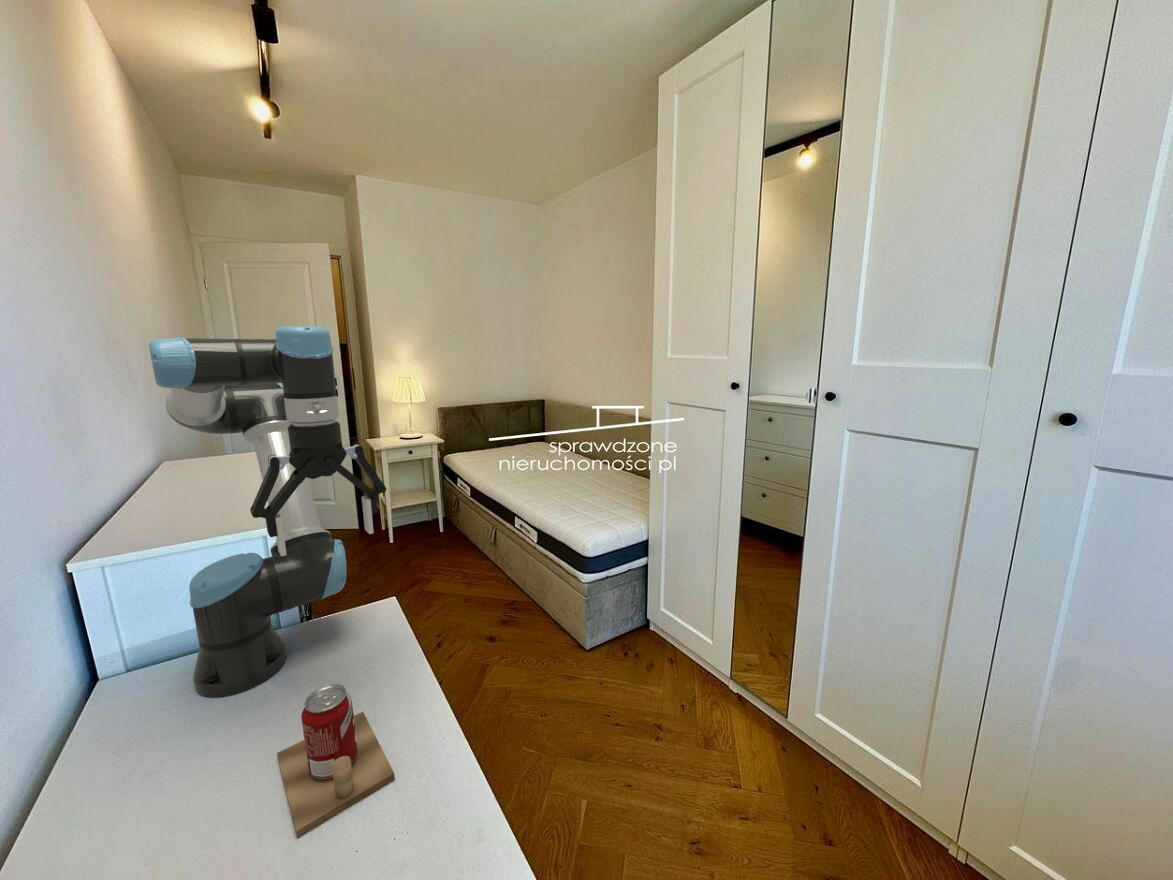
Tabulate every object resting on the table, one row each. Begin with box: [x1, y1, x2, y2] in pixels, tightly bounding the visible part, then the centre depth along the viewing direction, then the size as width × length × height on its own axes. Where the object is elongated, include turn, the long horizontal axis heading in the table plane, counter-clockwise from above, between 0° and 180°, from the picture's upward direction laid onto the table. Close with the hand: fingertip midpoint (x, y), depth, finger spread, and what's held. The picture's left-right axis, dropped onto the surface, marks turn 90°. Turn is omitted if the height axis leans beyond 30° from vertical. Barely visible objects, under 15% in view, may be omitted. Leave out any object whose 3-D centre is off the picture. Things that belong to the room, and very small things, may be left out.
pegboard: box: [276, 711, 396, 839], centre depth 72 cm, size 16×13×6 cm
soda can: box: [300, 683, 358, 779], centre depth 71 cm, size 7×7×12 cm
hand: (328, 541), depth 80 cm, fingers open, 13 cm apart
